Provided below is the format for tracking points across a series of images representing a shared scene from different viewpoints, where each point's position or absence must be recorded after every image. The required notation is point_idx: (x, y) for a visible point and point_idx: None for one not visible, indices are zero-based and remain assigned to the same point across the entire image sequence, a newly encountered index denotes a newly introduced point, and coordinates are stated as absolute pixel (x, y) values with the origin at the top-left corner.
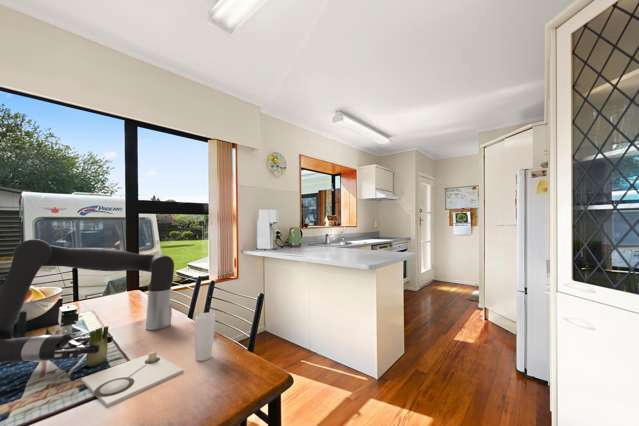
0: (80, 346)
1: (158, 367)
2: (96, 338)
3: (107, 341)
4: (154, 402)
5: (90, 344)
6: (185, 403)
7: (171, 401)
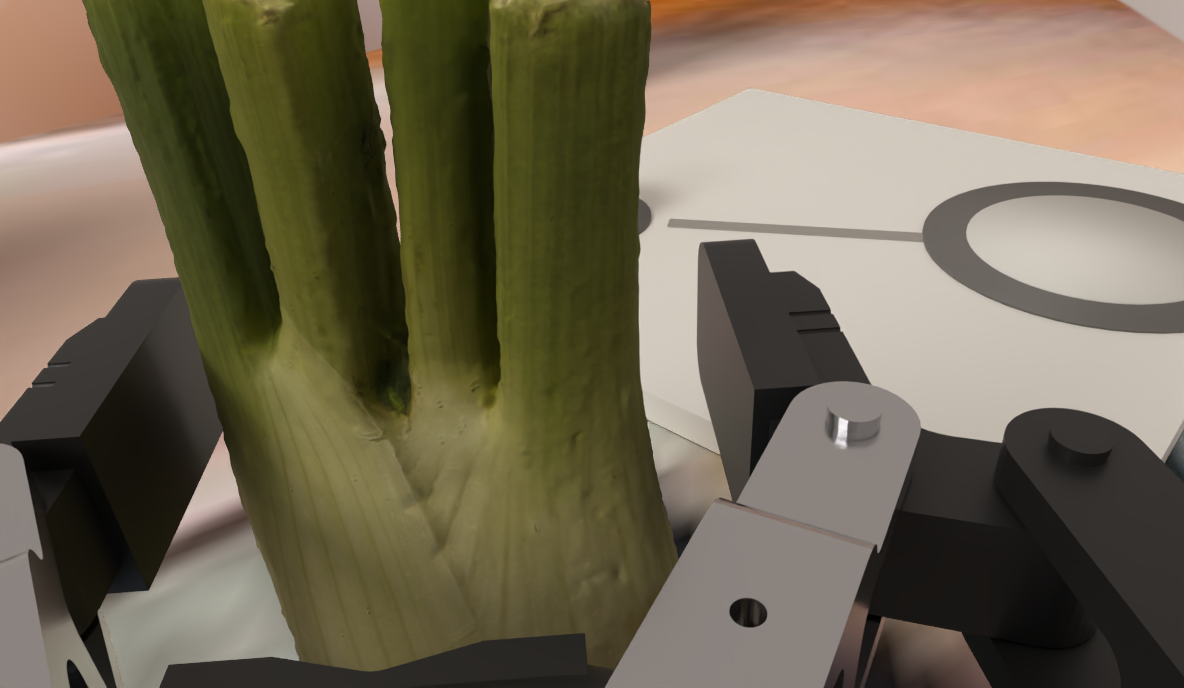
0: (852, 467)
1: (721, 163)
2: (489, 247)
3: (204, 415)
4: (1110, 107)
5: (640, 380)
6: (1059, 51)
7: (1067, 76)
